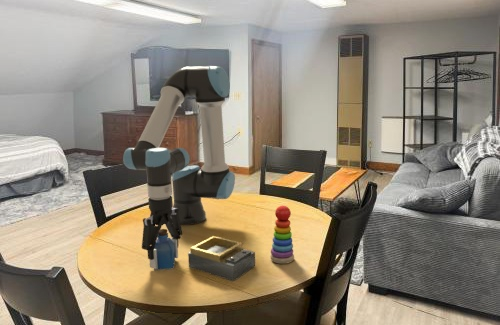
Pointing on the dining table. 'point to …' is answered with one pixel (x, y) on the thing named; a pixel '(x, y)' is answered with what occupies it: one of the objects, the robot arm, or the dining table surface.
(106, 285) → the dining table surface
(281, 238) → the stacking toy
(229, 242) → the gray gold-framed box
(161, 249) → the perfume bottle
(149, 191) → the robot arm
